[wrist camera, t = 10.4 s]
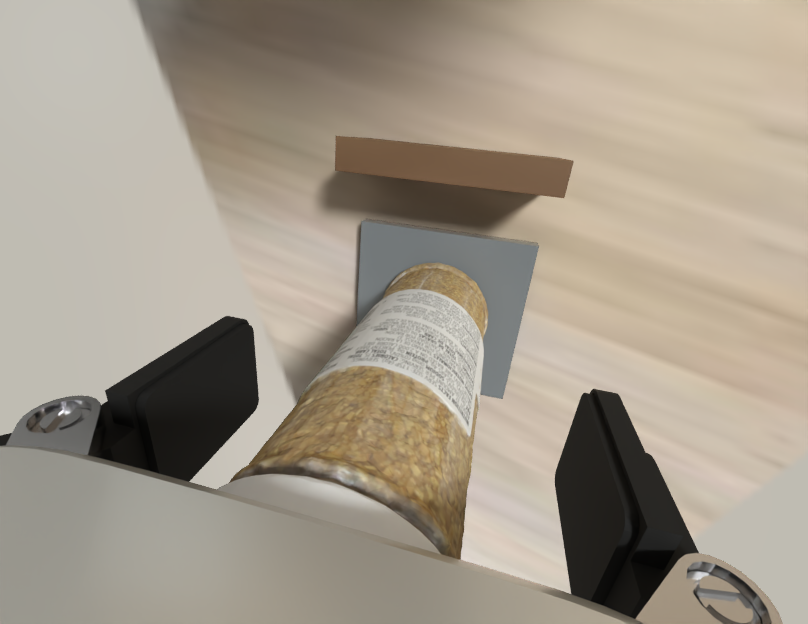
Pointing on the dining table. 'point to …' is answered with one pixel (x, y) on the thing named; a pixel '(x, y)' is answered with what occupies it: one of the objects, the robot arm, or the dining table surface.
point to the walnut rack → (454, 165)
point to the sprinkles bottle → (387, 419)
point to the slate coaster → (470, 253)
